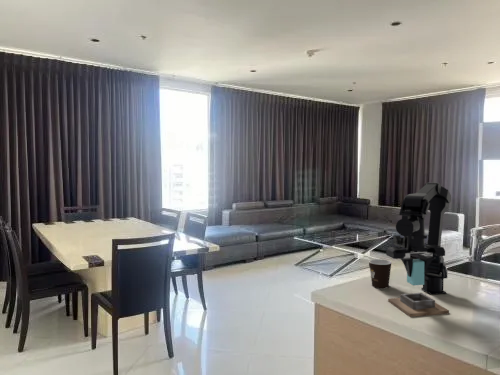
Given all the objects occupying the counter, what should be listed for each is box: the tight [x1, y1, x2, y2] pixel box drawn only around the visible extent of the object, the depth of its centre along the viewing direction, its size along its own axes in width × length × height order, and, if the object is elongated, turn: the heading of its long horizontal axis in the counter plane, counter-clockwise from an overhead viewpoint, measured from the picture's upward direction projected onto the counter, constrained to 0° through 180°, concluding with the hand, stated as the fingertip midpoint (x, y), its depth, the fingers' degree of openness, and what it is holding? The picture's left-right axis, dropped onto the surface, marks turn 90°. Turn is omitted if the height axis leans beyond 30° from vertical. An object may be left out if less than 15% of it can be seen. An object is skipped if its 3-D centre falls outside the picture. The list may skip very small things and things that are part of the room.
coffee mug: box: [368, 258, 392, 289], centre depth 155 cm, size 12×9×10 cm
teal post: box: [406, 258, 424, 286], centre depth 130 cm, size 4×4×8 cm
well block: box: [387, 292, 450, 318], centre depth 131 cm, size 14×14×4 cm
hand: (415, 276), depth 130 cm, fingers closed on teal post, 4 cm apart
